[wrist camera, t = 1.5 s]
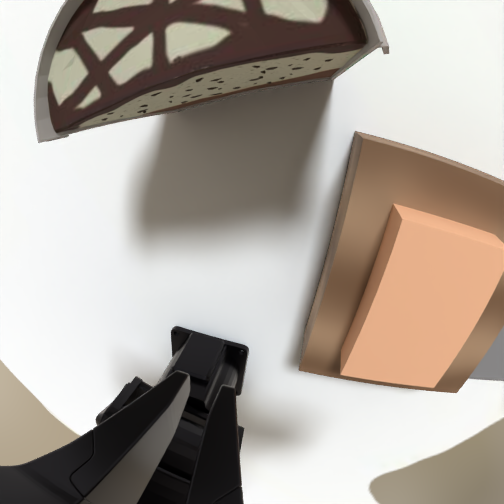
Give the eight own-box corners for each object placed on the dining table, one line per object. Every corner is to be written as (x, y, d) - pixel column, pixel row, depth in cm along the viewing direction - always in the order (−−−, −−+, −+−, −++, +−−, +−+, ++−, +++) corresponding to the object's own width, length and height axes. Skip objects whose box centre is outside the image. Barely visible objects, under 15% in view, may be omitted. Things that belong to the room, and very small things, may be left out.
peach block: (428, 364, 16) (433, 387, 15) (341, 349, 17) (340, 374, 15) (494, 234, 12) (511, 252, 10) (393, 203, 13) (402, 219, 11)
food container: (335, -20, 12) (335, -125, 3) (361, 76, 14) (404, 41, 5) (138, 33, 15) (13, 15, 6) (156, 118, 18) (30, 147, 9)
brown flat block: (445, 355, 20) (456, 393, 17) (305, 330, 22) (298, 370, 19) (522, 189, 14) (556, 211, 10) (355, 131, 15) (363, 138, 12)
